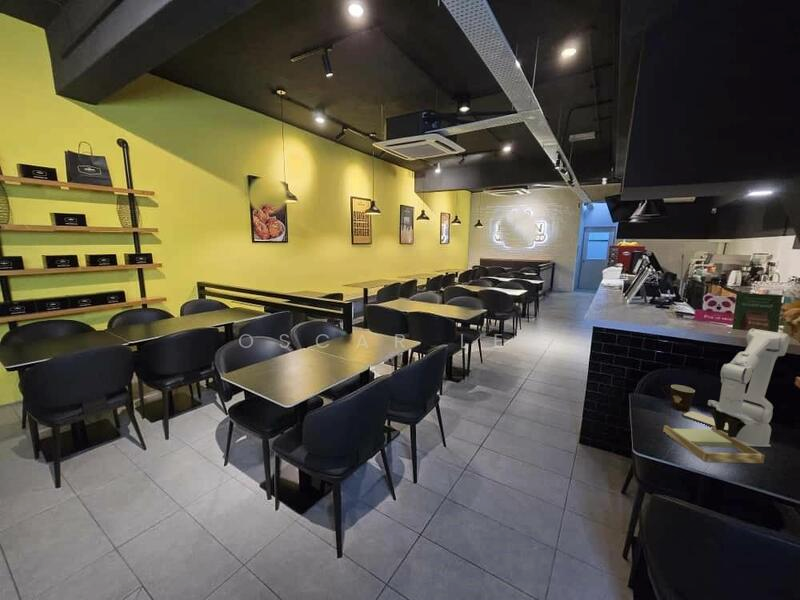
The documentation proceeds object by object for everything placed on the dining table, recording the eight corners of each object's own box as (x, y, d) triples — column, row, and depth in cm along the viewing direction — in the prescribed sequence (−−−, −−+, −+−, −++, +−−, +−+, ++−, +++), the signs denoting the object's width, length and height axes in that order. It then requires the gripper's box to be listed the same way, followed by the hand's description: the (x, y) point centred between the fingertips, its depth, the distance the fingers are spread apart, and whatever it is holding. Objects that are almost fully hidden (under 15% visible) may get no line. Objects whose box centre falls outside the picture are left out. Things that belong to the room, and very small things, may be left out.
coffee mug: (697, 413, 149) (700, 392, 148) (678, 412, 149) (681, 392, 148) (676, 401, 161) (679, 382, 159) (658, 401, 161) (661, 382, 160)
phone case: (680, 417, 147) (727, 434, 132) (680, 414, 146) (728, 431, 132) (690, 413, 150) (737, 429, 136) (690, 410, 150) (738, 426, 136)
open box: (713, 433, 133) (714, 426, 132) (763, 463, 114) (764, 455, 113) (663, 432, 133) (664, 425, 133) (705, 461, 114) (706, 453, 114)
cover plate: (708, 435, 132) (709, 429, 132) (730, 448, 123) (731, 442, 123) (669, 434, 132) (669, 428, 132) (688, 447, 124) (688, 441, 123)
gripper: (701, 388, 123) (696, 422, 125) (740, 406, 108) (734, 444, 110) (721, 389, 122) (715, 422, 124) (762, 407, 108) (755, 445, 110)
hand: (725, 433), depth 117 cm, fingers open, 4 cm apart
